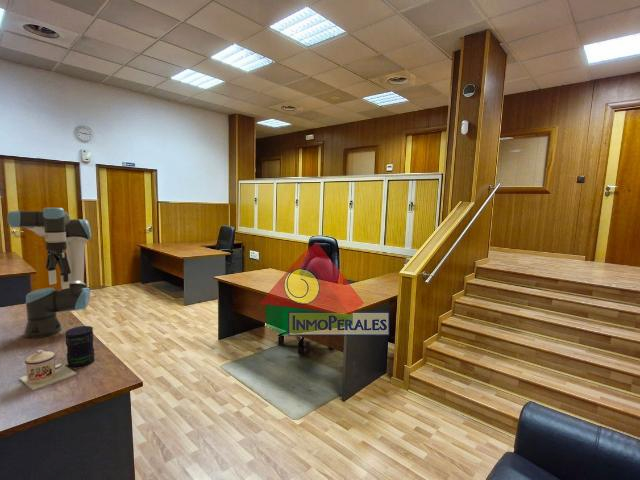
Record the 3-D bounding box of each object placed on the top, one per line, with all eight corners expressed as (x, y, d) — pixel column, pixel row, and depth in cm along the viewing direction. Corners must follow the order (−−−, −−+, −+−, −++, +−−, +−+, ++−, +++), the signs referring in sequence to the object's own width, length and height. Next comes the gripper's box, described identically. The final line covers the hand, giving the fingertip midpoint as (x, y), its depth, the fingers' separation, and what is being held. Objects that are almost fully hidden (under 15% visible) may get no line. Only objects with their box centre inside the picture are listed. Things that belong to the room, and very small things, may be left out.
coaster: (19, 379, 130) (19, 377, 130) (61, 364, 142) (61, 363, 142) (33, 390, 122) (33, 389, 122) (76, 374, 134) (76, 373, 134)
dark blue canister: (63, 369, 137) (61, 336, 136) (71, 359, 147) (69, 327, 145) (91, 366, 141) (89, 333, 139) (97, 355, 150) (95, 324, 148)
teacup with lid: (25, 387, 123) (23, 358, 122) (27, 376, 130) (25, 349, 129) (65, 377, 131) (63, 349, 129) (65, 368, 138) (63, 341, 136)
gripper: (35, 239, 153) (38, 283, 156) (57, 244, 140) (61, 292, 143) (54, 238, 160) (57, 280, 162) (77, 243, 147) (80, 288, 149)
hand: (59, 286), depth 153 cm, fingers open, 13 cm apart
